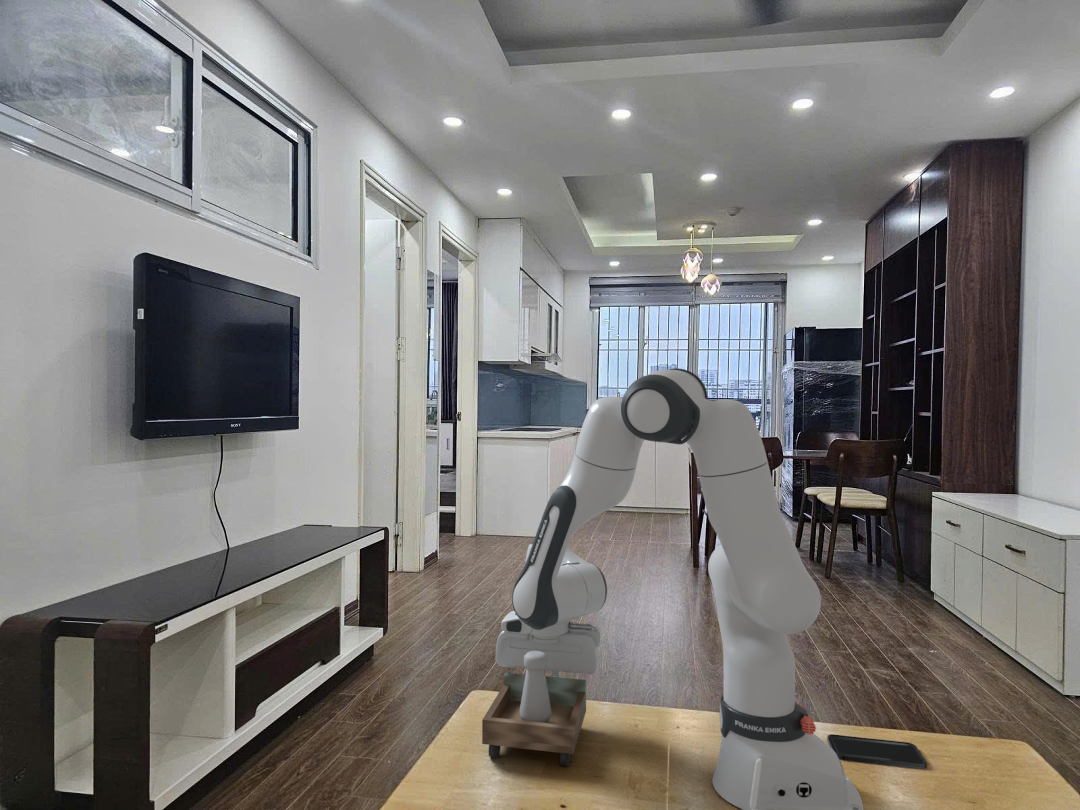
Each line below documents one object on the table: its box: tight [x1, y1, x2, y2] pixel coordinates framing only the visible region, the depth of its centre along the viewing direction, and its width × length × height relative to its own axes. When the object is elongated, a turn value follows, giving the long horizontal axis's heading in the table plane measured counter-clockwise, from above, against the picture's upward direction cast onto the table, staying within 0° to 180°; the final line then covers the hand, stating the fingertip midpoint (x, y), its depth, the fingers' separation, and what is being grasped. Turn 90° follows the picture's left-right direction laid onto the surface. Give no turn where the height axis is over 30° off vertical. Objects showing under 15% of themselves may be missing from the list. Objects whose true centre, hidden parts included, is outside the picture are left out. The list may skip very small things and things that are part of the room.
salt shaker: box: [520, 651, 552, 723], centre depth 120 cm, size 6×6×13 cm
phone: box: [827, 734, 928, 770], centre depth 120 cm, size 8×1×15 cm
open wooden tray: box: [481, 672, 587, 767], centre depth 122 cm, size 16×16×9 cm
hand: (546, 691), depth 131 cm, fingers closed
